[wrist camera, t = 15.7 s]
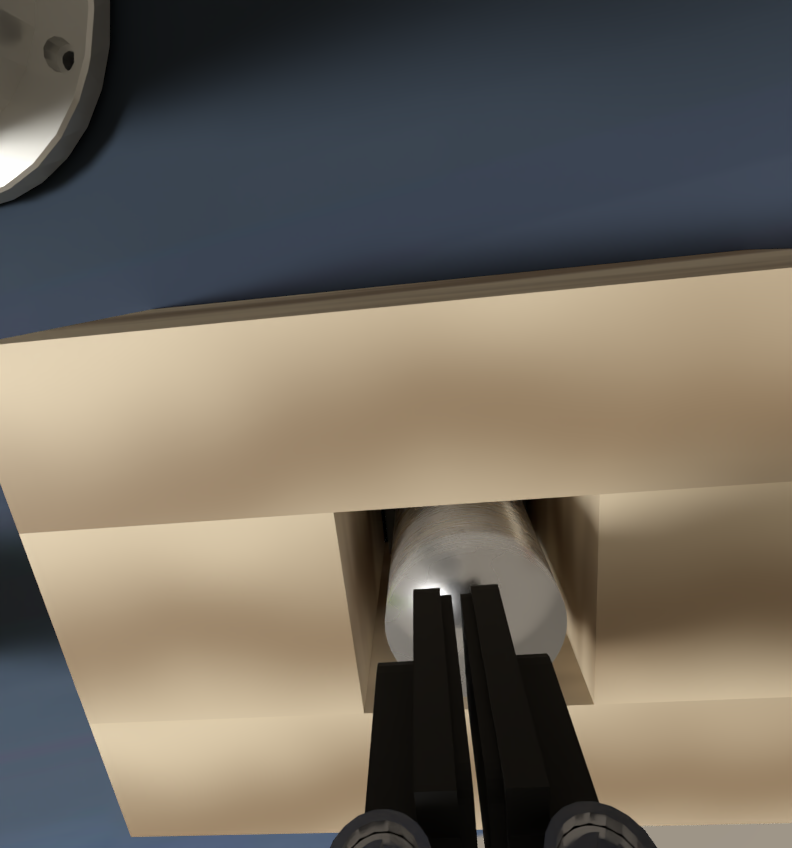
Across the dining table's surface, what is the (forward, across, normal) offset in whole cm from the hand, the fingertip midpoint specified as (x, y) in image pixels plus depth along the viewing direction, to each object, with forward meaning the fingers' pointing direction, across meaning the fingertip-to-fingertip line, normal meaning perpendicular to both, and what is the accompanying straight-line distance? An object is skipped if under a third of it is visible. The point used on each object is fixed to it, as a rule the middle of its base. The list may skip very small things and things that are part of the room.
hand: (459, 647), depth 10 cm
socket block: (+10, 0, 0) cm, 10 cm away
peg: (+8, 0, +1) cm, 8 cm away
